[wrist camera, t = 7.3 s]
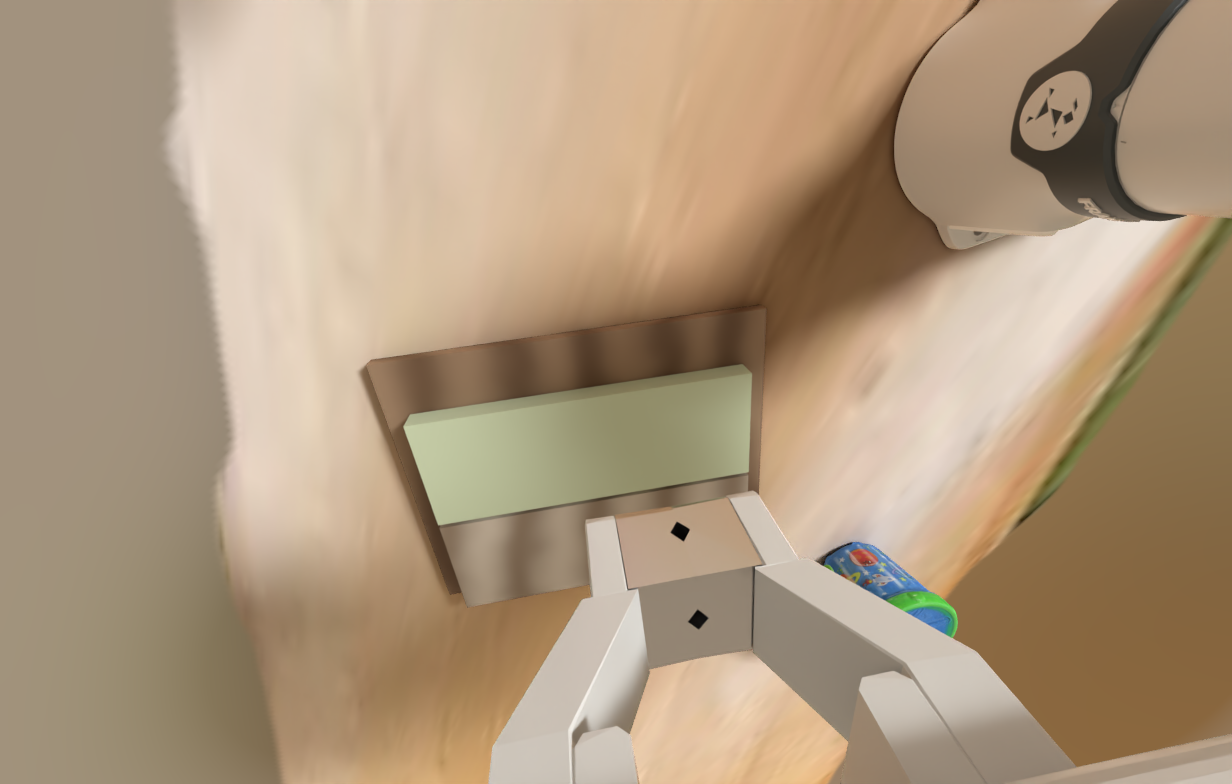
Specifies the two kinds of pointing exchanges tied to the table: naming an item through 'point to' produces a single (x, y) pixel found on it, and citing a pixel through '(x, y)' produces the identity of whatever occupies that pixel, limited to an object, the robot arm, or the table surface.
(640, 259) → the table surface
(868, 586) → the snack cup
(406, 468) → the floor board
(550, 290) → the table surface
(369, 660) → the table surface
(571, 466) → the board
